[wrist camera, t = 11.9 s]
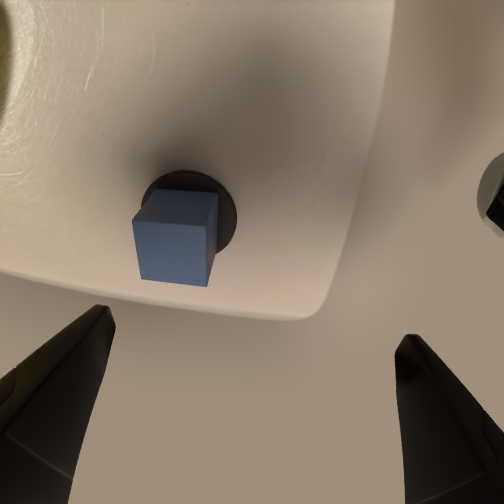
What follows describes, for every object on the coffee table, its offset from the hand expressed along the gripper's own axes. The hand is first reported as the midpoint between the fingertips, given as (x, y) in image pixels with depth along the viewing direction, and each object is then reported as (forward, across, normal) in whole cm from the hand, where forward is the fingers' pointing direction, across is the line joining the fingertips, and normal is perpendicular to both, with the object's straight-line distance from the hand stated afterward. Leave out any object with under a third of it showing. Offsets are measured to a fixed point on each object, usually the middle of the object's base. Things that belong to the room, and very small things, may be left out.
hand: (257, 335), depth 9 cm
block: (+11, +5, +3) cm, 13 cm away
